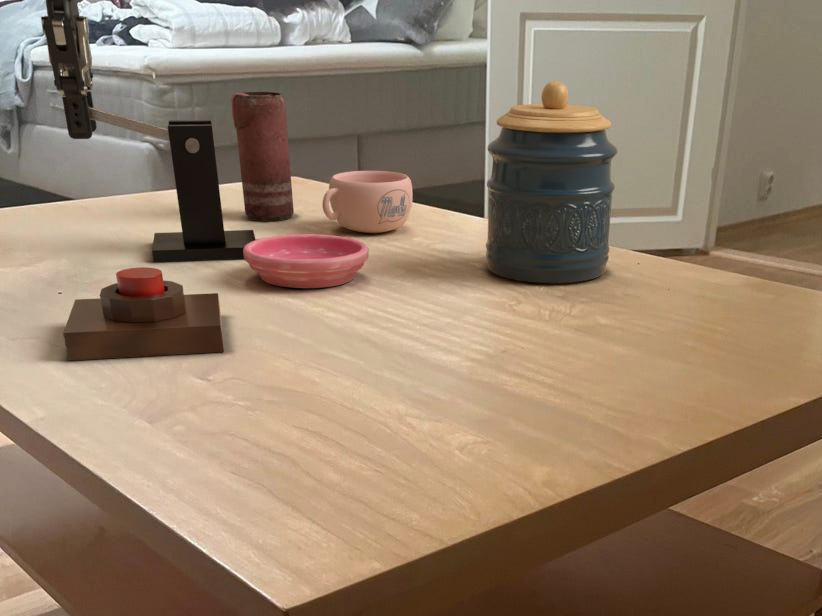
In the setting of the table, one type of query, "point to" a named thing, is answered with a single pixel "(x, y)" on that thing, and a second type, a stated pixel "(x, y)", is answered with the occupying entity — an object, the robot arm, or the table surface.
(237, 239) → the bracket
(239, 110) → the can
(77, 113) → the robot arm
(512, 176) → the canister
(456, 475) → the table surface
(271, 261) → the pink bowl
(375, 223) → the mug
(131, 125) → the lever
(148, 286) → the button
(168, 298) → the control block
